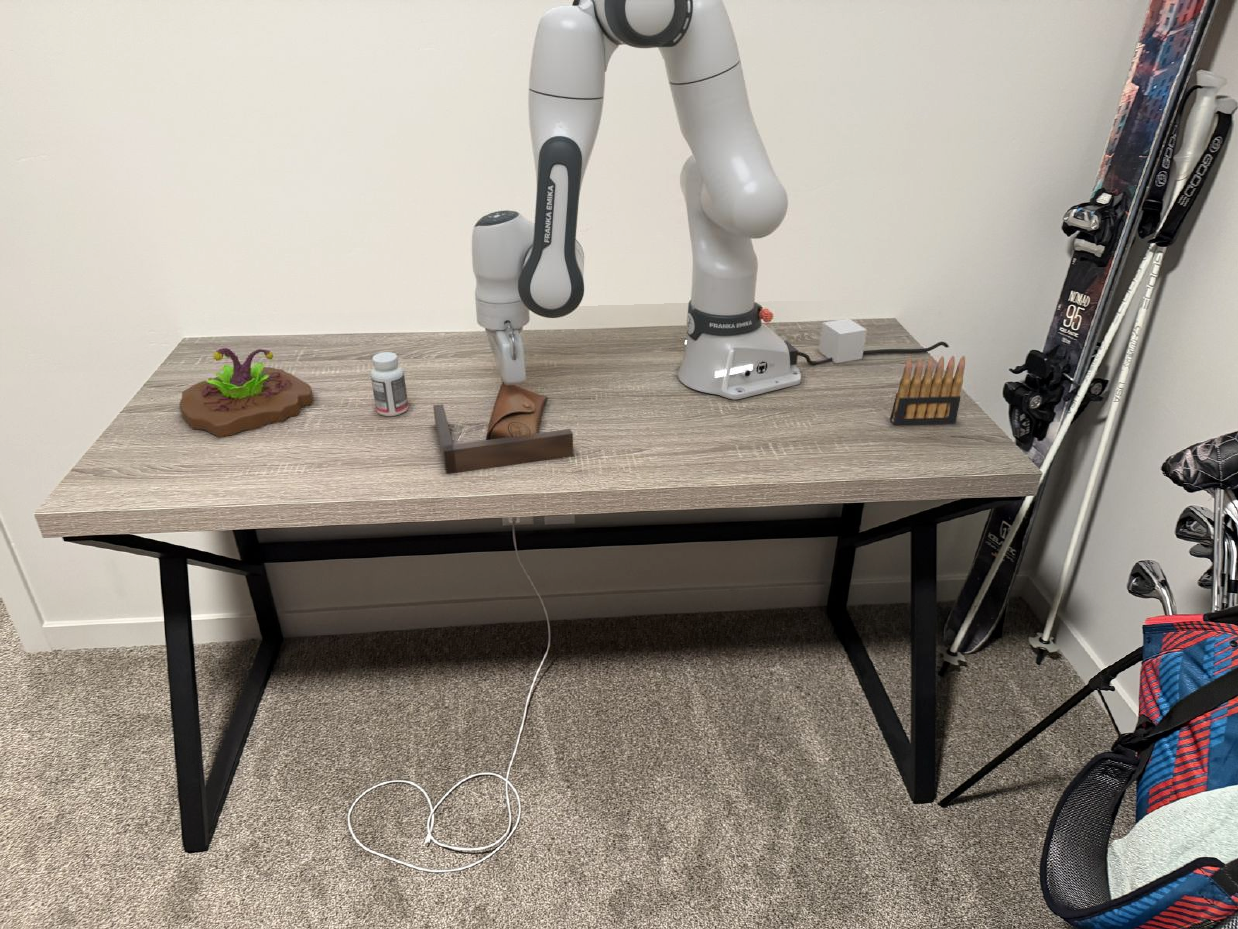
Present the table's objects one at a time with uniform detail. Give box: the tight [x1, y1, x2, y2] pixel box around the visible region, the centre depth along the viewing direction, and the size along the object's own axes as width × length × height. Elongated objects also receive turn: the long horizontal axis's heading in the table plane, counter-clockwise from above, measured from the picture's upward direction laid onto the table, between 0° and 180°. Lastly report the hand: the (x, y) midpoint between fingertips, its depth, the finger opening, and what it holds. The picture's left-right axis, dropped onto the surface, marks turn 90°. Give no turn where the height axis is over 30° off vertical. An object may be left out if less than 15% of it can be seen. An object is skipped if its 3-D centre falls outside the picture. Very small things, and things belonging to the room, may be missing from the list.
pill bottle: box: [370, 351, 409, 417], centre depth 142 cm, size 5×5×10 cm
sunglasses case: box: [485, 382, 548, 440], centre depth 141 cm, size 18×7×7 cm
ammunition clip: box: [889, 355, 966, 427], centre depth 140 cm, size 11×2×12 cm, turn 94°
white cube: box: [818, 318, 868, 364], centre depth 164 cm, size 6×6×6 cm
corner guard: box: [432, 404, 574, 475], centre depth 135 cm, size 20×15×4 cm
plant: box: [179, 347, 314, 438], centre depth 143 cm, size 20×20×11 cm
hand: (507, 385), depth 149 cm, fingers closed
